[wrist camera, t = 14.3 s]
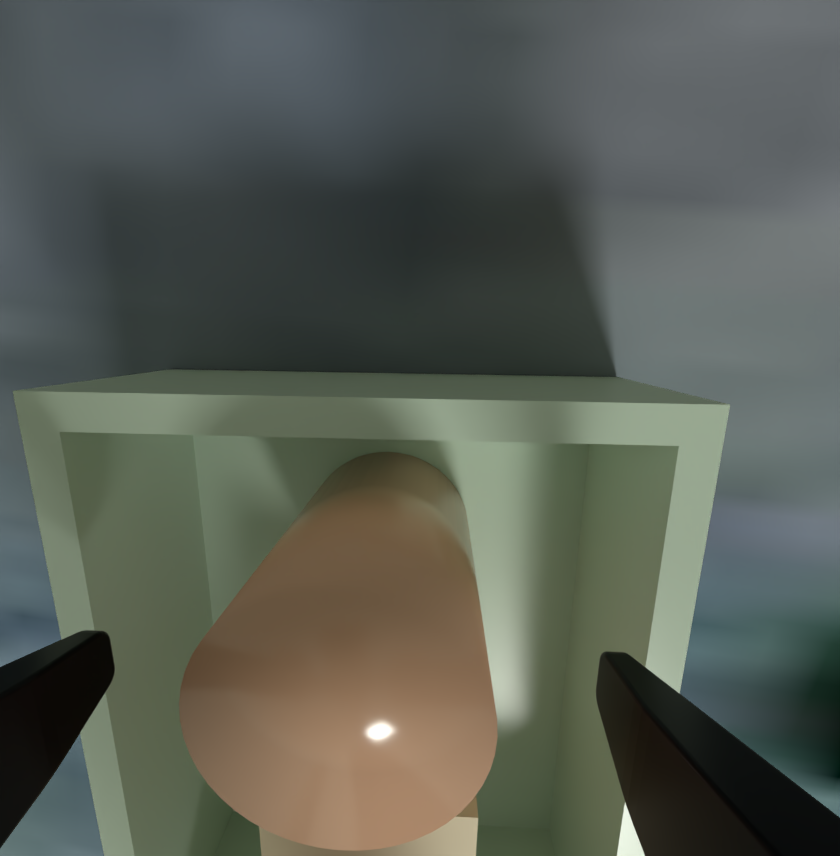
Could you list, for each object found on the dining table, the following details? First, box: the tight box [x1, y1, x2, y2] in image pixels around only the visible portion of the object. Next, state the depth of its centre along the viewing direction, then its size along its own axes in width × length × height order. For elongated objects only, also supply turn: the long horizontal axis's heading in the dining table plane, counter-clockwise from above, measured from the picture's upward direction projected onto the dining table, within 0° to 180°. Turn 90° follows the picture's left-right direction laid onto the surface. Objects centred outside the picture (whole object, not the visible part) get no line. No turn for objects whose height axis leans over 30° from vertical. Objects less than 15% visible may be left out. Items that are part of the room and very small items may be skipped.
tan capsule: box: [179, 452, 498, 851], centre depth 10 cm, size 5×5×7 cm
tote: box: [13, 369, 730, 856], centre depth 12 cm, size 18×14×5 cm
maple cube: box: [259, 796, 478, 856], centre depth 13 cm, size 5×5×5 cm
